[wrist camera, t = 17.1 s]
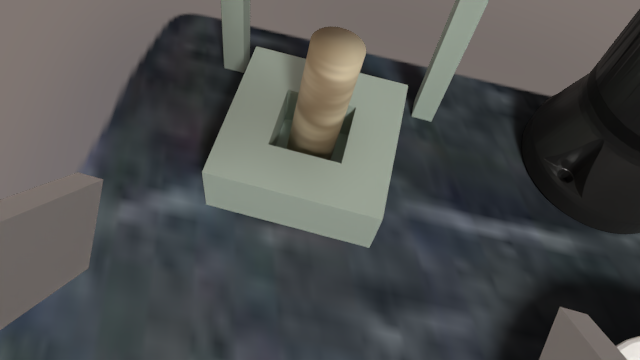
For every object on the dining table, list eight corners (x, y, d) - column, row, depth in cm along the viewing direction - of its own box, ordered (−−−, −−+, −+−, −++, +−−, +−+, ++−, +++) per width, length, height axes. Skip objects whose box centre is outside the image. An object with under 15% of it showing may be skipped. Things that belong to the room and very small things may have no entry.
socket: (438, 107, 53) (610, -252, 28) (416, 260, 44) (642, -72, 19) (225, 52, 53) (207, -348, 28) (160, 192, 44) (47, -219, 19)
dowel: (334, 140, 48) (368, 35, 38) (327, 174, 45) (362, 71, 36) (291, 129, 48) (315, 21, 38) (282, 163, 45) (305, 56, 36)
